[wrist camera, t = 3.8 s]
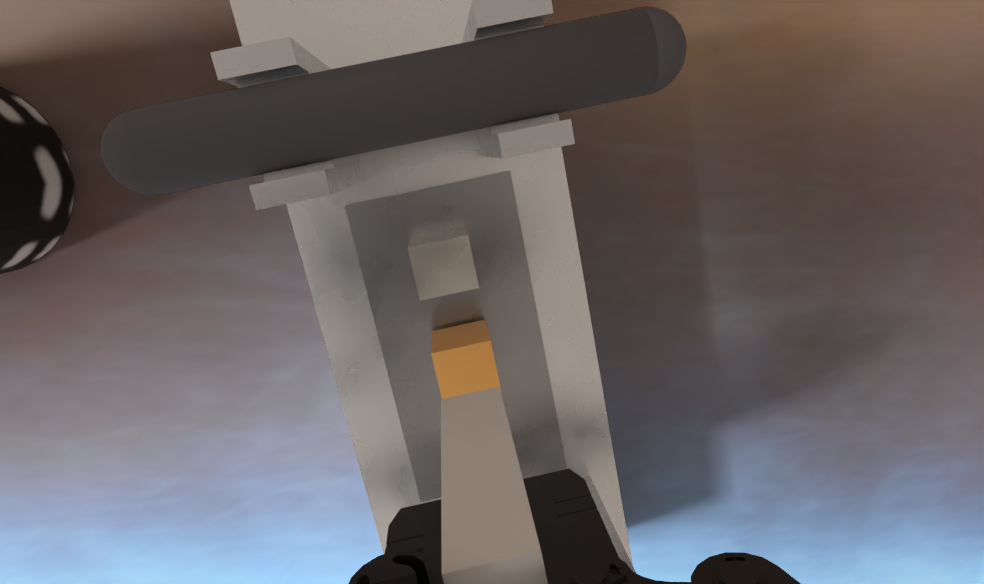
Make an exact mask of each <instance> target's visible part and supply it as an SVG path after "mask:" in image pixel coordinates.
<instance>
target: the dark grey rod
mask: <svg viewBox="0 0 984 584" xmlns="http://www.w3.org/2000/svg"><path fill="white" fill-rule="evenodd" d="M685 55H686V39H685V35H684V32H683V30H682V28H681V25H680V24H679V23H678V21H677V20H676V19H675V18H674V17H673V16H672V15H670V14H669V13H668V12H666V11H664V10H661V9H659V8H654V7H639V8H634V9H629V10H624V11H619V12H614V13H609V14H604V15H599V16H594V17H589V18H584V19H579V20H574V21H569V22H564V23H559V24H554V25H549V26H544V27H540V28H535V29H530V30H525V31H520V32H515V33H510V34H505V35H500V36H495V37H490V38H485V39H480V40H475V41H470V42H465V43H460V44H455V45H450V46H445V47H440V48H435V49H430V50H425V51H420V52H415V53H410V54H405V55H400V56H395V57H390V58H385V59H380V60H375V61H370V62H365V63H360V64H355V65H350V66H345V67H340V68H335V69H330V70H325V71H320V72H316V73H311V74H306V75H301V76H296V77H291V78H286V79H281V80H276V81H271V82H266V83H261V84H256V85H251V86H246V87H241V88H236V89H231V90H226V91H221V92H216V93H211V94H206V95H201V96H196V97H191V98H186V99H181V100H176V101H171V102H166V103H161V104H156V105H151V106H146V107H141V108H136V109H132V110H129V111H126V112H123V113H122V114H120V115H118V116H117V117H115V118H114V119H113V120H112V121H111V122H110V123H109V124H108V126H107V127H106V129H105V131H104V132H103V135H102V139H101V145H100V147H101V155H102V159H103V162H104V164H105V166H106V168H107V170H108V171H109V173H110V174H111V176H112V177H113V178H114V179H115V180H116V181H118V182H119V183H120V184H121V185H123V186H124V187H126V188H128V189H130V190H132V191H134V192H138V193H141V194H147V195H162V194H168V193H173V192H178V191H182V190H187V189H192V188H197V187H202V186H207V185H211V184H216V183H221V182H226V181H231V180H236V179H241V178H245V177H250V176H255V175H260V174H265V173H270V172H274V171H279V170H284V169H289V168H294V167H299V166H303V165H308V164H313V163H318V162H323V161H328V160H332V159H337V158H342V157H347V156H352V155H357V154H361V153H366V152H371V151H376V150H381V149H386V148H391V147H395V146H400V145H405V144H410V143H415V142H420V141H424V140H429V139H434V138H439V137H444V136H449V135H453V134H458V133H463V132H468V131H473V130H478V129H482V128H487V127H492V126H497V125H502V124H507V123H512V122H516V121H521V120H526V119H531V118H536V117H541V116H545V115H550V114H555V113H560V112H565V111H570V110H574V109H579V108H584V107H589V106H594V105H599V104H603V103H608V102H613V101H618V100H623V99H628V98H633V97H637V96H642V95H647V94H651V93H654V92H657V91H659V90H660V89H662V88H664V87H666V86H667V85H668V84H669V83H671V82H672V81H673V79H674V78H675V77H676V76H677V74H678V73H679V71H680V69H681V67H682V65H683V63H684V59H685Z"/></svg>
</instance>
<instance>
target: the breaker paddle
mask: <svg viewBox="0 0 984 584" xmlns="http://www.w3.org/2000/svg"><path fill="white" fill-rule="evenodd" d="M431 355H432V359H433V364H434V368H435V372H436V376H437V380H438V385H439V389H440V393H441V397H442V399H445V398H450V397H455V396H459V395H464V394H468V393H473V392H477V391H482V390H486V389H491V388H495V387H500V382H499V378H498V373H497V368H496V363H495V359H494V354H493V349H492V345H491V340H490V336H489V333H488V329H487V326H486V322H485V320H481V321H476V322H472V323H467V324H462V325H458V326H453V327H449V328H444V329H440V330H435V331H432V340H431ZM500 390H501V387H500Z"/></svg>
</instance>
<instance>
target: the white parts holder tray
mask: <svg viewBox="0 0 984 584" xmlns="http://www.w3.org/2000/svg"><path fill="white" fill-rule="evenodd" d="M229 1H230V4H231V8H232V12H233V15H234V19H235V22H236V26H237V30H238V33H239V37H240V40H241V44H242V46H240V47H235V48H230V49H225V50H220V51H215V52H210V54H211V58H212V61H213V65H214V68H215V71H216V75H217V78H218V80H219V81H222V82H225V83H228V84H232V85H235V86H237V87H238V88H241V87H246V86H251V85H256V84H261V83H266V82H271V81H276V80H281V79H286V78H291V77H296V76H301V75H306V74H311V73H316V72H320V71H325V70H330V69H335V68H340V67H345V66H350V65H355V64H360V63H365V62H370V61H375V60H380V59H385V58H390V57H395V56H400V55H405V54H410V53H415V52H420V51H425V50H430V49H435V48H440V47H445V46H450V45H455V44H460V43H465V42H470V41H475V40H480V39H485V38H490V37H495V36H500V35H505V34H510V33H515V32H520V31H525V30H530V29H535V28H540V27H544V24H545V22H546V21H547V20H548V19H549V18H550V17H551V15H552V14H553V7H552V0H229ZM572 144H575V140H574V134H573V128H572V122H571V119H567V120H562V121H560V120H559V114H558V113H555V114H550V115H545V116H541V117H536V118H531V119H526V120H521V121H516V122H512V123H507V124H502V125H497V126H492V127H487V128H482V129H478V130H473V131H468V132H463V133H458V134H453V135H449V136H444V137H439V138H434V139H429V140H424V141H420V142H415V143H410V144H405V145H400V146H395V147H391V148H386V149H381V150H376V151H371V152H366V153H361V154H357V155H352V156H347V157H342V158H337V159H332V160H328V161H323V162H318V163H313V164H308V165H303V166H299V167H294V168H289V169H284V170H279V171H274V172H270V173H265V174H262V175H263V178H264V182H263V183H258V184H253V185H249V188H250V191H251V195H252V198H253V202H254V205H255V209H256V210H261V209H266V208H270V207H275V206H280V205H285V204H286V205H287V209H288V212H289V216H290V219H291V223H292V227H293V230H294V234H295V237H296V241H297V245H298V248H299V252H300V255H301V259H302V262H303V266H304V270H305V273H306V277H307V280H308V284H309V287H310V291H311V295H312V298H313V302H314V305H315V309H316V313H317V316H318V320H319V323H320V327H321V330H322V334H323V338H324V341H325V345H326V348H327V352H328V356H329V359H330V363H331V366H332V370H333V373H334V377H335V381H336V384H337V388H338V391H339V395H340V399H341V402H342V406H343V409H344V413H345V416H346V420H347V424H348V427H349V431H350V434H351V438H352V442H353V445H354V449H355V452H356V456H357V459H358V463H359V467H360V470H361V474H362V477H363V481H364V485H365V488H366V492H367V495H368V499H369V502H370V506H371V510H372V513H373V517H374V520H375V524H376V528H377V531H378V535H379V538H380V542H381V545H382V549H383V553H384V554H385V549H386V546H387V544H386V541H387V534H388V527H389V524H390V523H391V522H392V520H393V519H394V517H395V516H396V514H397V513H398V512H399V510H400V509H401V508H405V507H409V506H413V505H418V504H422V503H427V502H431V501H435V500H440V499H441V399H442V397H441V393H440V389H439V385H438V380H437V376H436V372H435V368H434V364H433V359H432V355H431V340H432V331H435V330H440V329H444V328H449V327H453V326H458V325H462V324H467V323H472V322H476V321H481V320H485V322H486V326H487V329H488V333H489V336H490V340H491V345H492V349H493V354H494V359H495V363H496V368H497V373H498V378H499V382H500V387H501V394H502V398H503V402H504V406H505V410H506V414H507V418H508V422H509V426H510V430H511V434H512V438H513V442H514V446H515V450H516V454H517V458H518V462H519V466H520V470H521V473H522V477H523V479H524V478H529V477H533V476H537V475H542V474H546V473H551V472H555V471H559V470H564V469H568V468H569V469H571V470H572V471H574V472H575V473H576V474H578V475H579V476H581V477H582V478H584V479H585V481H586V484H587V486H588V488H589V490H590V493H591V496H592V497H593V500H594V502H595V504H596V506H597V510H598V511H599V513H600V515H601V518H602V520H603V522H604V525H605V527H606V529H607V531H608V534H609V536H610V538H611V540H612V543H613V545H614V547H615V550H616V552H617V554H618V556H619V558H620V559H621V560H622V561H624V562H626V563H627V565H628V566H629V567H630V568H631V570H632V571H633V572H634V573H636V572H635V570H634V568H633V565H632V559H631V553H630V547H629V541H628V535H627V529H626V523H625V518H624V512H623V506H622V500H621V494H620V488H619V482H618V476H617V471H616V465H615V459H614V453H613V447H612V441H611V435H610V429H609V424H608V418H607V412H606V406H605V400H604V394H603V388H602V382H601V377H600V371H599V365H598V359H597V353H596V347H595V341H594V335H593V329H592V324H591V318H590V312H589V306H588V300H587V294H586V288H585V282H584V277H583V271H582V265H581V259H580V253H579V247H578V241H577V235H576V230H575V224H574V218H573V212H572V206H571V200H570V194H569V188H568V183H567V177H566V171H565V165H564V159H563V153H562V147H563V146H567V145H572Z"/></svg>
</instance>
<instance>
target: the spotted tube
mask: <svg viewBox="0 0 984 584" xmlns="http://www.w3.org/2000/svg"><path fill="white" fill-rule="evenodd" d="M73 202H74V181H73V176H72V171H71V166H70V162H69V160H68V157H67V155H66V152H65V150H64V148H63V145H62V143H61V141H60V140H59V138H58V137H57V135H56V134H55V132H54V131H53V129H52V128H51V126H50V125H49V124H48V123H47V122H46V121H45V119H44V118H43V117H42V116H41V115H40V114H39V113H38V112H37V111H36V110H35V109H34V108H33V107H31V106H30V105H29V104H28V103H26V102H25V101H24V100H22V99H21V98H20V97H18V96H17V95H15V94H13V93H11V92H9V91H8V90H6V89H4V88H2V87H0V274H3V273H6V272H10V271H13V270H17V269H20V268H23V267H25V266H27V265H29V264H31V263H33V262H35V261H37V260H38V259H40V258H41V257H42V256H43V255H44V254H46V253H47V252H48V251H49V250H51V249H52V248H53V246H54V245H55V244H56V242H57V241H58V240H59V239H60V237H61V236H62V235H63V233H64V230H65V228H66V226H67V224H68V222H69V220H70V216H71V211H72V207H73Z"/></svg>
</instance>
